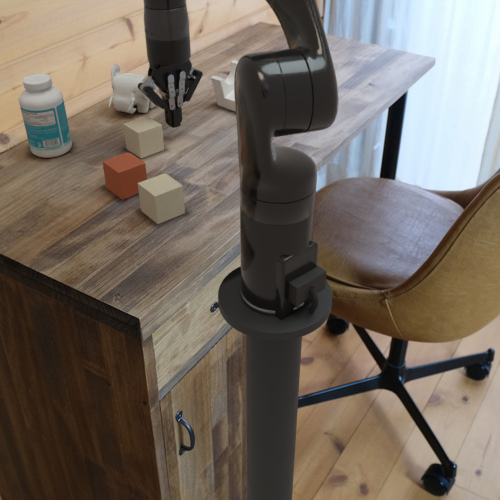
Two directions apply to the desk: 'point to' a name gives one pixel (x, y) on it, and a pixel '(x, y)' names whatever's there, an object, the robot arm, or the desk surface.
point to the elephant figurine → (129, 91)
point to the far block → (143, 136)
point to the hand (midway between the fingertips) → (174, 125)
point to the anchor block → (124, 174)
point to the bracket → (225, 88)
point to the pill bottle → (44, 117)
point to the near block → (161, 198)
